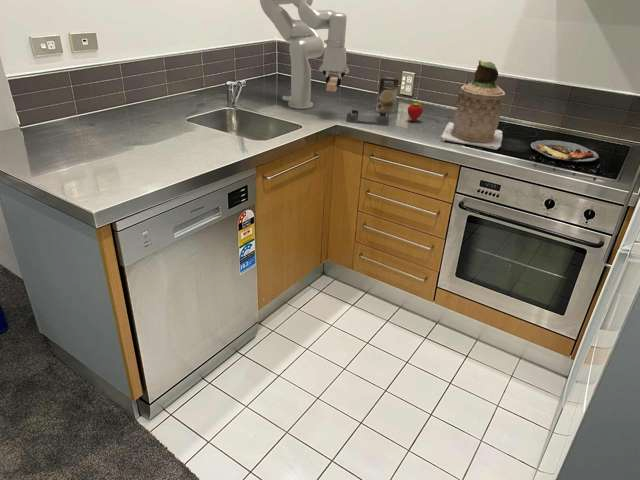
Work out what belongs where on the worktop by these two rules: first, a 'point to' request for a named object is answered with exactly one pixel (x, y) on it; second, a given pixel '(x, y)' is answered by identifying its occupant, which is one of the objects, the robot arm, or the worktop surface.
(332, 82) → the clay strip
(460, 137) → the cookie jar
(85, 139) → the worktop surface
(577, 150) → the food plate
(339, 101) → the worktop surface
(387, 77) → the coffee box
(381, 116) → the drying rack
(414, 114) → the strawberry
